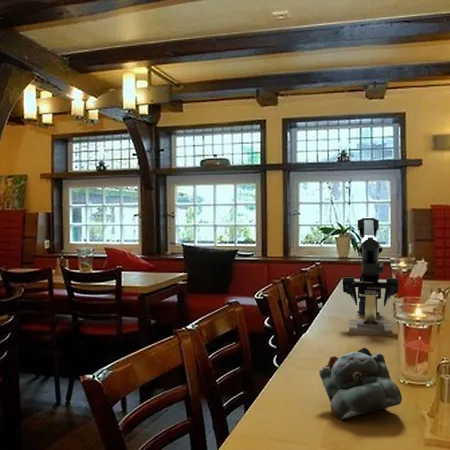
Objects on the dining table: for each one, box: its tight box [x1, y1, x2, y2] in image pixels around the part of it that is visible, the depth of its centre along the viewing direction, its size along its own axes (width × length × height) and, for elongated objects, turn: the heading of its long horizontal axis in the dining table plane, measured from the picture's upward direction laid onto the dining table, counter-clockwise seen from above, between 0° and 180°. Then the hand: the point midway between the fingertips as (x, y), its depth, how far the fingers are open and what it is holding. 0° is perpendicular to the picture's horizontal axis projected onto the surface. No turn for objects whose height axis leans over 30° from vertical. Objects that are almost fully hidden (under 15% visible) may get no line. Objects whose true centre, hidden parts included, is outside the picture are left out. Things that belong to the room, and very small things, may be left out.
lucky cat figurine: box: [318, 347, 403, 421], centre depth 109 cm, size 15×12×14 cm
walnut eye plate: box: [348, 319, 394, 337], centre depth 185 cm, size 20×14×3 cm
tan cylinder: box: [364, 290, 377, 325], centre depth 180 cm, size 4×4×13 cm
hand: (370, 305), depth 181 cm, fingers open, 9 cm apart
